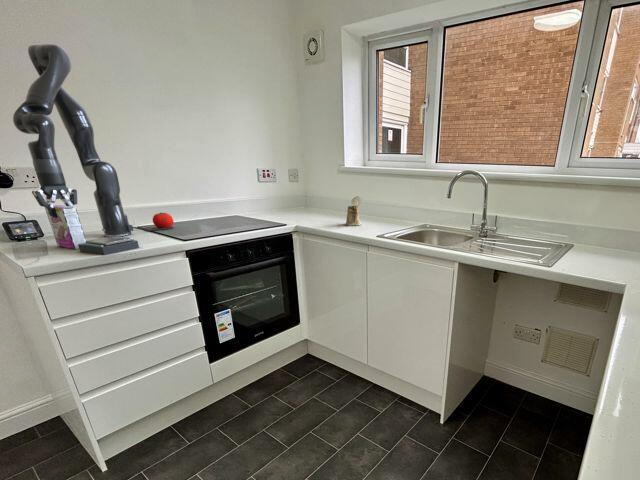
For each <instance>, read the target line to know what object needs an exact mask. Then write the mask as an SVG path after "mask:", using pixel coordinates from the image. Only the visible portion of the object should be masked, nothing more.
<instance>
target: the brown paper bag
mask: <svg viewBox="0 0 640 480" xmlns="http://www.w3.org/2000/svg"><path fill="white" fill-rule="evenodd" d="M361 204H362V198H361V197H360V196H355V197H353V198H352V199H351V205H348V206H347V209H346V212H347V213H346V220H345V221H346V222H345V226H348V227H357V226H361V221H360V215H359V213H360V210H359V205H361Z"/></svg>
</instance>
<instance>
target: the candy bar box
mask: <svg viewBox="0 0 640 480" xmlns="http://www.w3.org/2000/svg"><path fill="white" fill-rule="evenodd" d="M54 208H55V210H56V213H57V218H52V216H50V215H49V212H48V209H47V208H46V207H44V209H45V213H46V215H47V218H48V221H49V225H50V227H51V230H52V233H53V236H54V239H55V243H56V246H57V247H59V248H65V249H71V250H80V249H79V246H78V244H83V243H86V240H87V239H86V235H85V233H84V230H83V227H82V226H83V225H82V223H81V219H80V217H79V213H78V210H77V207H76V206H73V207H70V206H66V205H61V204H54Z"/></svg>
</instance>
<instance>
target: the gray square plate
mask: <svg viewBox="0 0 640 480" xmlns="http://www.w3.org/2000/svg"><path fill="white" fill-rule="evenodd" d="M131 240H135V238H133V237H126V236H110V237H106V236H105V237H97V238H93V239H88V240H87V239H86V243H93V244H101V245H110V244H115V243H121V242H126V241H131Z"/></svg>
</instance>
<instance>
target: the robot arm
mask: <svg viewBox="0 0 640 480" xmlns="http://www.w3.org/2000/svg"><path fill="white" fill-rule="evenodd" d="M27 53H28V58H29V59H30V62H31V64H32V66H33V67H34V70H35V71H36V72H37V74H38V78H36V79H35V80H34V81H33V82H32V83H31V85H30V86H29V88H28V89H27V93H26V96H25V100H24V102H22V103H21V104H20V105H19V106H18V107H17V109H16V110H15V111H14V113H13V116H12V122H13V125H14V127H15V128H16V130H18V132H21V133H23V134H27V135H38V137H37V139H36V140H32V141H29V142H28V143H27V147H28V151H29V153H30V156H31V160H32V165H33V170H34V172H35V175H36V179H37V181H38V184H39V185H40V188H39V189H38V190H32V191H31V194H32V195H33V197H34V198H35V200H36V202H37V204H38V205H39V206H40V207H43V208H45V207H46V208H47V209H48V212H49V215H50V216H52V218H57V213H56V210H55V208H54V205H55V202H56V201H57V200H61V202H63V204H64V206H70V207H74V206H75V205H78V190H77V189H76V188H69V187H68V186H67V183H66V179H65V176H64V172H63V169H62V165H61V164H60V161H59V159H58V157H57V152H56V148H55V136H56V135H55V134H56V133H55V132H56V129H55V124H54V122H53V120H52V119H51V118H50V117H49V116H50V115H51V114H52V112H53V109H54V106H55V108H56V111H57V113H58V116H59V118H60V120H61V122H62V124H63V126H64V128H65V130H66V132H67V135H68V136H69V138H70V141H71V142H72V145H73V146H74V149H75V151H76V155H77V156H78V160H79V162H80V165H81V168H82V171H83V173H84V175H85V176H86V177H87V178H88V179H89V180H90V181H92V182H94V183H95V190H94V191H93V197H94V201H95V204H96V208H97V211H98V216H99V219H100V223H101V226H102V228H101V231H102V232H103V234H104V236H105V237H110V236H119V237H126V236H130V235H132V232H134V231H135V230H134V229H136V230H142V231H145V232H156V231H162V230H170V229H173V228H174V227H173V226H172V227H168V228H160V229H159V228H156V229H155V228H154V229H146V228H143V227H137V226H133V224H130V223H129V218H128V215H127V214H126V213H125V212H124V208H123V203H122V199H121V195H120V194H121V186H120V181H119V177H118V173H117V170H116V168H115V167H114V166H113V165H112V164H111V163H110V162H108V161H104V160H101V158H100V156H99V154H98V152H97V149H96V145H95V132H94V127H93V125H92V121H91V120H90V119H91V118H90V117H89V115H88V112H87V110H86V109H85V108H84V106H83V105H81V103H80V102H79V101H78V100H76V98H75V97H73V96H72V95H71V94H70V93H69V92H68V91H67V90H66V89H65V87H64V86H63V84H64V82H65V81H66V78H67V77H68V76H69V74H70V72H71V70H72V68H73V67H72V66H73V65H72V60H71V57H70V55H69V54H68V53H67V51H66V50H65V49H64V48H63V47H61V46H60V45H58V44H52V43H51V44H50V43H47V44H31V45H28V48H27ZM68 194H69V196H68ZM44 196H45V198H44Z"/></svg>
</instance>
